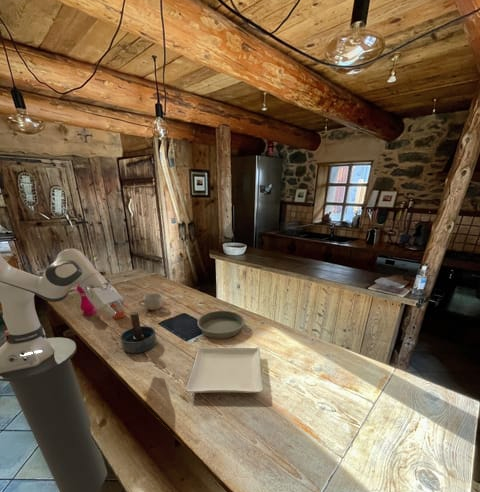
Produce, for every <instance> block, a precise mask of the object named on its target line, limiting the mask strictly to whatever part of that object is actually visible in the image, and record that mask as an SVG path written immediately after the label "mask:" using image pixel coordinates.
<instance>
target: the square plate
mask: <svg viewBox="0 0 480 492" xmlns="http://www.w3.org/2000/svg"><path fill="white" fill-rule="evenodd" d="M193 362H194V363H193V364H192V365H193V366H192V368H191V372H190V374H189V375H190V376H189V379H188V381H187V383H186V389H185V392H186V393H193V394H194V393H195V394H197V393H198V394H204V393H206V394H207V393H237V394H238V393H242V394H256V393H257V394H258V393H262V392H263V391H264V386H263V376H262V368H261V349H260V347H200V348H198V349H197V350H196V355H195V359H194V361H193Z"/></svg>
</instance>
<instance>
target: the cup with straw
mask: <svg viewBox="0 0 480 492" xmlns="http://www.w3.org/2000/svg"><path fill="white" fill-rule="evenodd" d="M119 295H120V296H121V299H120V300H119V302H120V303H121V305H122V307H123V308H124V310H123V311H122V312H119V310H118V308H117V307H116V305H114V304H111V305H110V307H111V308H112V309H113V310H115V311H116V312H117V313H116V314H115V315H114V316H112V318H113V319H115V320H117V319H122V318H124V317H125V303H124V301H125V298H124V297H123V296H122V295H121V294H119Z"/></svg>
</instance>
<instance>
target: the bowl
mask: <svg viewBox="0 0 480 492" xmlns="http://www.w3.org/2000/svg"><path fill="white" fill-rule="evenodd" d="M140 326H141V332H142V334H143V335H144V340H143V341H139V342H134V339H133V337H134V332H133V327H130V328H128V329H126V330H124V331H123V332H122V333H121V334H120V336H119V341H120V344H121V348H122V350H123V351H124V352H126V353H130V354H138V353H143V352H146V351H148V350H150V349H152V348H153V347H155V346H156V344H157V334H156V330H155V328H153V327H151V326H147V325H140Z"/></svg>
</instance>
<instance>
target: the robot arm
mask: <svg viewBox="0 0 480 492" xmlns="http://www.w3.org/2000/svg"><path fill="white" fill-rule="evenodd" d="M74 285H77V286H78V285H79V286H80V287H81V288H82V289H83V291H84V292H85V293H86V296H87V298H88V299H89V301H90V302H91V303H92V304H93V306H94V309H96V310H101V309H103V310H104V311H105V312H106V313H108V314H109V315H110V316H111V317H113V316H114V315H115V314H116V313H117V312H116V311H115V310H113V309H112V308H111V307H110V305H111V304H114V305H116V307H117V308H118V310H119V312H122V311H123V310H124V311H125V307H124V308H123V307H122V305H121V303H120V302H119V300H120V299H121V296H122V295H121V294H120V293H119V292H118V290H117V289H116V287H114V286H113V285H112V281H111V280H110V279H109V278H106V277H105V276H103V275H102V274H101V272H100V271H99V270H97V269H96V268H95V267H94V264H93V263H92V262H91V260H89V258H88V257H87V256H86V255H85V254H84V253H82V252H81V251H80V250H78V249H77V248H66V249H64V250H62V251H60V252H58V253H57V255H56V257H55V259H54V261H53V262H52V263H51V264H50V265H48V266H47V267H46V269H45V270H44V272H43V273H42V276H39V275H36V274H32V273H30V272H27V271H24V270H22V269H19V268H16V267H14V266H12V265H11V264H10V263H9V262H7V261H6V259H5V258H4V257H3V255H2V253H1V252H0V304H1V309H2V320H3V321H4V324H5V326H6V328H7V329H6V330H5V331H4V335H3V336H4V337H3V338H4V341H5V342H4V343H3V344H2V345H1V346H0V373H4V372H9V371H14V370H20V369H25V368H30V367H35V366H37V365H38V364H40V363H41V362H42V361H44V360H45V359H47V358H49V357H50V356H51V355H52V354H53V353H54V349H53V348H52V346H51V345H50V344H49V342H48V340H47V337H46V332H45V329H44V327H43V324H42V323H41V322H40V320H39V316H38V314H37V310H36V307H35V295H36V296H37V297H38V298H41V299H42V300H44V301H46V302H50V303H57V302H61V301H63V300H65V299H66V298H67V297H68V295H69V293H70V291H71V289H72V288H73V286H74ZM120 295H121V296H120Z"/></svg>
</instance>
